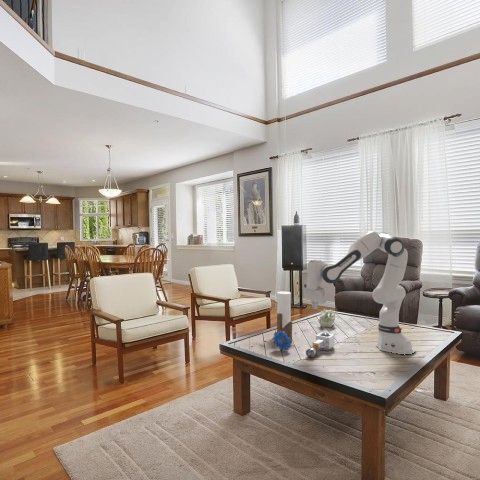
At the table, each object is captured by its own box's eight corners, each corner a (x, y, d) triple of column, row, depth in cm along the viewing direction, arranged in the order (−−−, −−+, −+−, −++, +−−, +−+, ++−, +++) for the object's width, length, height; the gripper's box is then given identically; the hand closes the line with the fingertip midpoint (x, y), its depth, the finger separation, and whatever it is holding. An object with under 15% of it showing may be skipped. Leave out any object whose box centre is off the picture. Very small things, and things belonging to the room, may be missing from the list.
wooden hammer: (289, 344, 225) (289, 316, 225) (275, 340, 232) (275, 313, 232) (292, 342, 228) (292, 315, 227) (278, 339, 235) (278, 312, 235)
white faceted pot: (336, 348, 216) (337, 334, 216) (326, 352, 210) (326, 337, 210) (323, 344, 224) (323, 330, 224) (313, 347, 218) (313, 333, 218)
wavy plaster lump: (330, 336, 266) (332, 320, 258) (314, 329, 272) (316, 314, 265) (339, 322, 279) (341, 307, 271) (323, 316, 285) (325, 301, 277)
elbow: (321, 343, 223) (321, 332, 223) (334, 345, 218) (334, 334, 218) (308, 350, 208) (308, 339, 208) (321, 353, 203) (321, 341, 203)
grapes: (270, 351, 211) (270, 331, 211) (274, 347, 217) (274, 328, 217) (289, 353, 206) (289, 333, 206) (292, 350, 213) (292, 330, 212)
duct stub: (310, 354, 206) (310, 345, 206) (318, 356, 203) (318, 347, 203) (305, 357, 201) (305, 348, 201) (313, 358, 198) (313, 350, 198)
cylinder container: (287, 337, 240) (287, 293, 240) (274, 334, 245) (275, 292, 245) (292, 333, 248) (292, 291, 248) (280, 331, 253) (280, 290, 253)
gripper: (328, 287, 206) (329, 311, 206) (310, 283, 225) (310, 305, 225) (319, 288, 204) (319, 312, 204) (302, 284, 223) (302, 306, 223)
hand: (314, 308), depth 215 cm, fingers closed
